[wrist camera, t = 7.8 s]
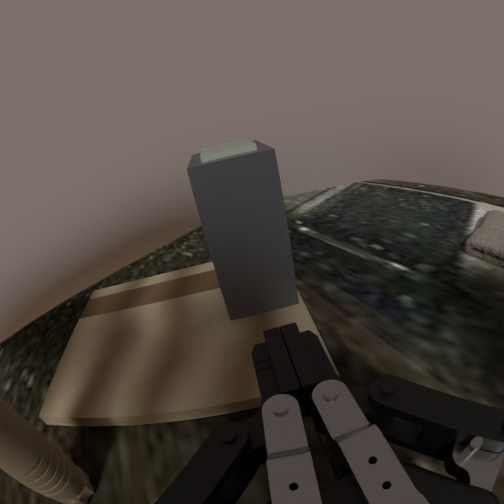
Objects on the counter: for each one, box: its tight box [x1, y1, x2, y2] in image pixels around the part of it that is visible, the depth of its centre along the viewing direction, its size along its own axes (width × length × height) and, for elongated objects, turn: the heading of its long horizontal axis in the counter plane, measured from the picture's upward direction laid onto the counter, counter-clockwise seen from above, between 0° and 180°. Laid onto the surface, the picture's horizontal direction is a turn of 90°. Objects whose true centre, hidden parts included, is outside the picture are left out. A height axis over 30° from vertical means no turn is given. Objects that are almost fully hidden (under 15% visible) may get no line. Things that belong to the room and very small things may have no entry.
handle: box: [0, 396, 94, 504], centre depth 8 cm, size 5×6×15 cm
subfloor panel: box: [39, 262, 339, 426], centre depth 26 cm, size 24×20×1 cm
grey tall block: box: [187, 138, 299, 321], centre depth 25 cm, size 6×8×14 cm
